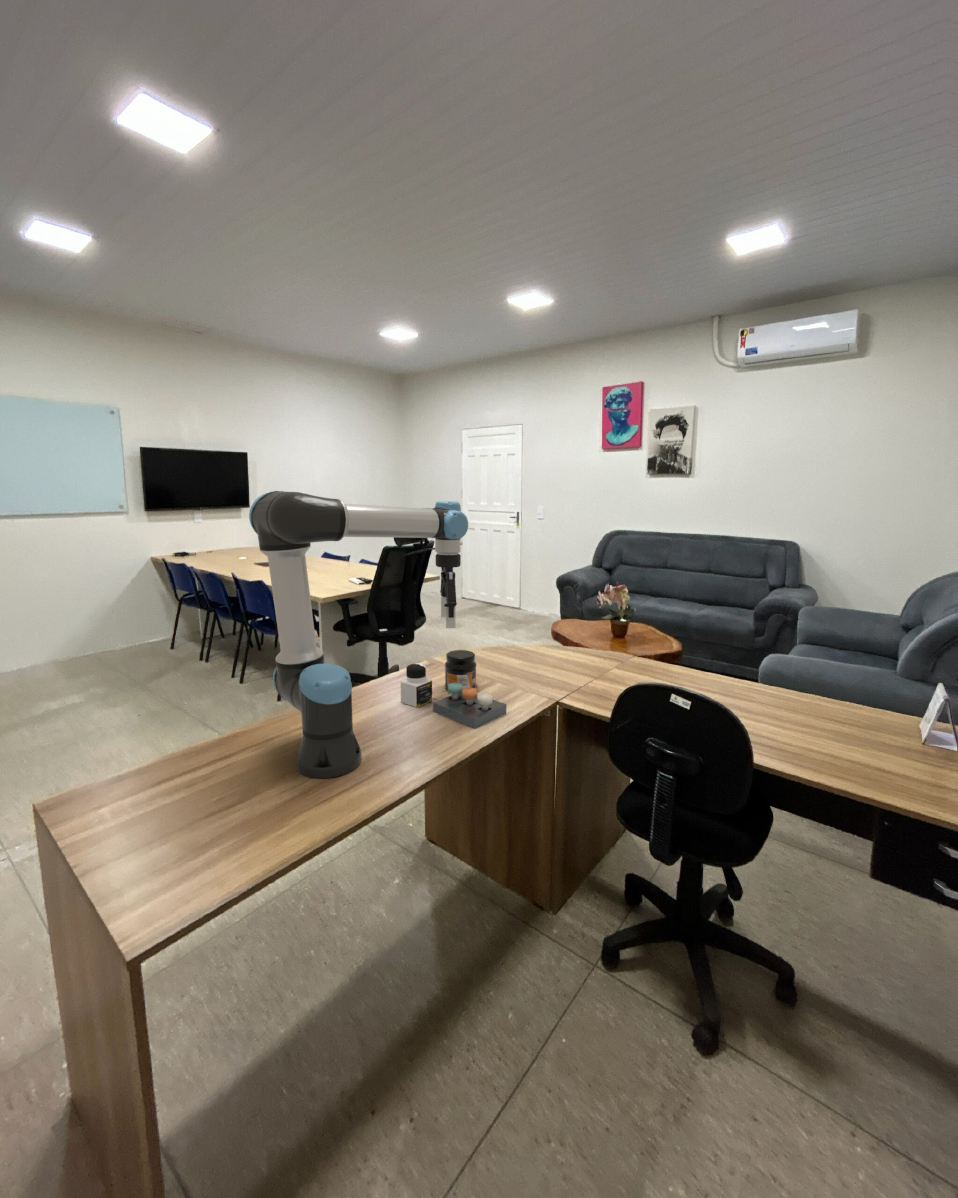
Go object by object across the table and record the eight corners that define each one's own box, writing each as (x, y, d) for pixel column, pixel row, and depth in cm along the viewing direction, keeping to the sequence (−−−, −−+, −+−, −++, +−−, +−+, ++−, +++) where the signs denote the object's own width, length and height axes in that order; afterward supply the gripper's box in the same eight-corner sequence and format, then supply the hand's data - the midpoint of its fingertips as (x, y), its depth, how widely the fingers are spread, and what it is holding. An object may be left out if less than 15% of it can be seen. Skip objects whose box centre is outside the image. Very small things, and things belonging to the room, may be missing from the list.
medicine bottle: (416, 708, 163) (416, 670, 161) (400, 702, 167) (399, 665, 165) (432, 701, 169) (432, 664, 166) (416, 695, 173) (415, 660, 171)
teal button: (455, 704, 160) (455, 688, 159) (444, 700, 163) (444, 685, 162) (465, 699, 164) (465, 685, 163) (454, 696, 167) (454, 681, 166)
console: (474, 728, 149) (475, 718, 149) (432, 711, 160) (432, 702, 160) (506, 713, 160) (506, 704, 159) (464, 698, 171) (464, 690, 170)
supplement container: (465, 696, 173) (465, 660, 170) (438, 689, 178) (438, 655, 176) (482, 686, 182) (482, 652, 179) (456, 680, 187) (456, 647, 185)
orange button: (470, 709, 157) (470, 694, 156) (459, 705, 159) (459, 690, 158) (479, 705, 160) (480, 690, 159) (469, 701, 163) (469, 686, 162)
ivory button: (485, 715, 153) (485, 699, 152) (474, 711, 156) (474, 695, 155) (495, 710, 156) (495, 695, 155) (484, 706, 159) (484, 691, 158)
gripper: (466, 558, 149) (466, 632, 153) (455, 548, 173) (454, 612, 177) (439, 558, 147) (440, 633, 152) (431, 548, 171) (432, 613, 176)
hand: (447, 622), depth 164 cm, fingers open, 13 cm apart
